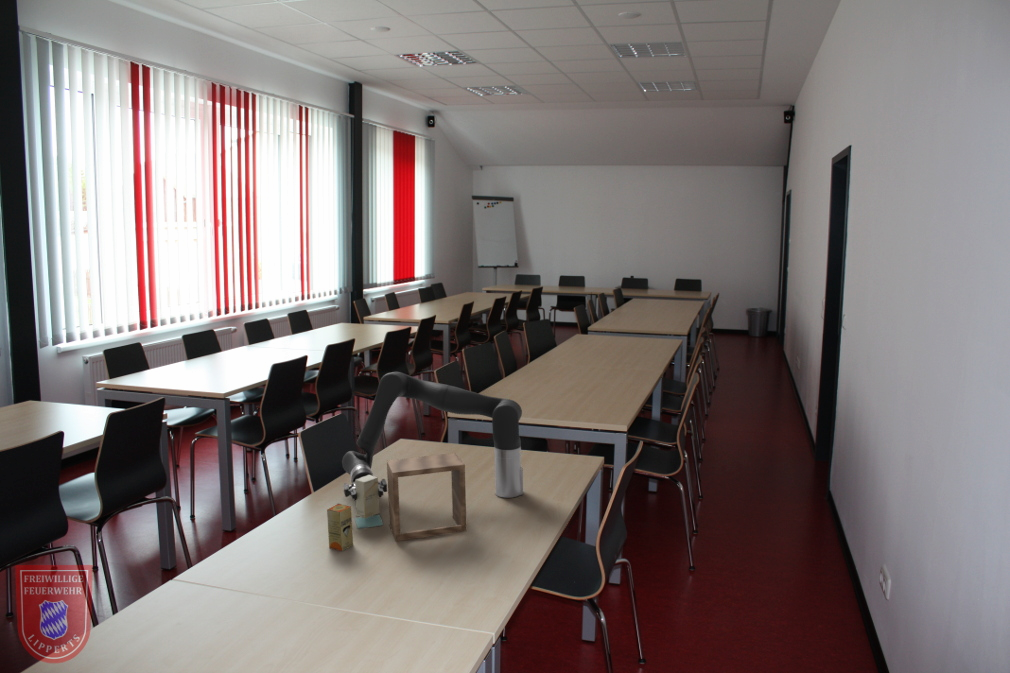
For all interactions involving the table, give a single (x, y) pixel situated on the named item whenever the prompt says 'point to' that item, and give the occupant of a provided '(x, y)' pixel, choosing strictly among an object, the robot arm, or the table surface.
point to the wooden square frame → (426, 467)
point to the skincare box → (367, 496)
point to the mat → (369, 522)
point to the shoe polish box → (340, 527)
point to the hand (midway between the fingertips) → (368, 495)
